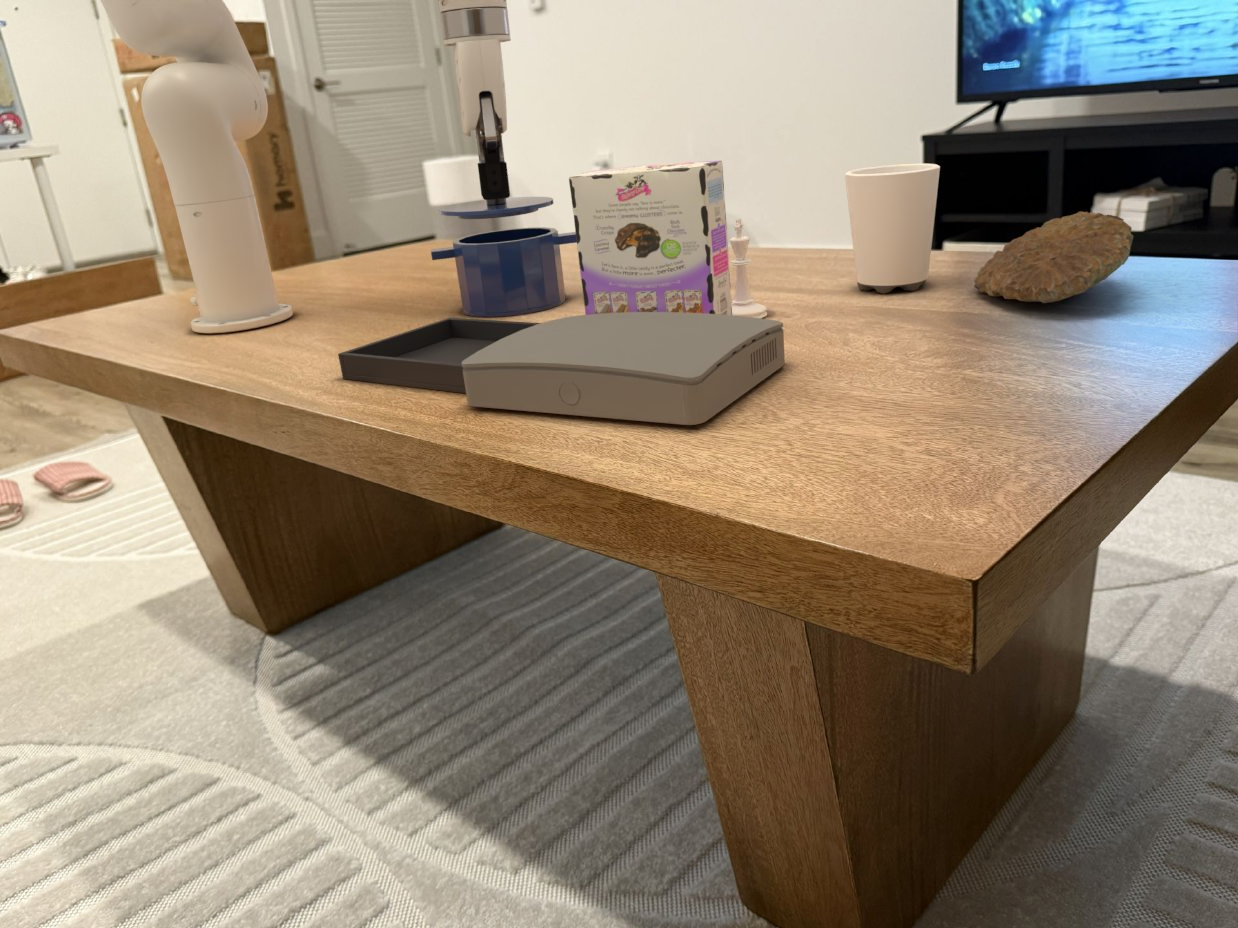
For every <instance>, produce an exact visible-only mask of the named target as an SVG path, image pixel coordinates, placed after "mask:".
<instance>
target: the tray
mask: <svg viewBox="0 0 1238 928" xmlns="http://www.w3.org/2000/svg"><path fill="white" fill-rule="evenodd" d="M541 323H542V322H530V321H529V322H528V321H527V322H526V321H511V320H495V319H494V320H493V319H478V318H477V319H476V318H460V317H448V318H444V319H441V320H438V321H435V322H431V323H428V324H425V325H421V326H419V327H417V328H414V329H413V328H412V329H409V330H407V331H404V332H401V333H398V334H395V335H392V336H389V337H386V338H385V337H384V338H383V339H379V340H376V341H372V342H370V343H367V344H364V345H361V346H357V347H355V348H352V349H349V350H345V351H343V352H339V353H338V354H337V355H338V360H339V361H338V362H339V365H340V366H339V367H340V371H341V376H342V379H343V380H350V381H358V382H368V383H375V384H383V385H391V386H392V385H393V386H400V387H410V388H418V389H424V390H425V389H426V390H435V391H441V392H442V391H443V392H451V393H460V394H466V389H465V383H464V376H463V368H462V361H463V360H465V359H466V358H468V357H470V356H471V355H473V354H474V353H476V352H478V351H479V350H481V349H483V348H485V347H487V346H489V345H491V344H493V343H494V342H496V341H498V340H500V339H502V338H504V337H507V336H509V335H511V334H514V333H516V332H518V331H520V330H523V329H526V328H529V327H531V326H534V325H537V324H541Z"/></svg>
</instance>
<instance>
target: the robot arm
mask: <svg viewBox="0 0 1238 928" xmlns="http://www.w3.org/2000/svg"><path fill="white" fill-rule="evenodd" d="M100 2H101V4H102V7H103V9H104V10H105V12H106V15H107V17H108V18H109V21H110V23H111V24H112V27H113V29H114V30H115V32H116V34H117V35H118V37H119V39H120V40H121V41H122V42H123V43H124V44H125V45H126V46H127V47H128V48H129V49H130V50H132V51H134V52H137V53H138V54H142V55H146V56H152V57H168V58H174V59H175V61H176V62H169V63H167V64H164V65H161V66H159V67H158V68H156V69H155V70H154V71H152V73H150V74H149V76H148V77H147V78H146V80H145V81H144V84H143V87H142V91H141V96H140V97H141V98H140V99H141V100H140V103H141V110H142V115H143V119H144V121H145V124H146V127H147V130H148V131H149V134H150V136H151V139H152V141H153V143H154V145H155V147H156V151H157V152H158V155H159V157H160V160H161V163H162V165H163V169H164V172H165V175H166V179H167V182H168V186H169V190H170V195H171V198H172V201H173V202H172V203H173V205H174V209H175V212H176V216H177V221H178V224H179V228H180V232H181V236H182V241H183V244H184V248H185V252H186V256H187V260H188V265H189V268H190V269H189V270H190V272H191V276H192V281H193V285H194V289H195V291H194V294H195V295H193V296H191V297H190V299H189V303H190V305H191V306H192V307H198V310H199V314H200V316H198V317H196V318H194V319H191V321H190V326H191V330H192V332H195V333H198V334H221V333H223V334H225V333H232V332H239V331H246V330H252V329H257V328H261V327H266V326H270V325H274V324H276V323H281V322H283V321H286V320H288V319H289V318H292V316H293V315H294V311H293V306H292V305H290V304H287V303H279V299H278V295H277V290H276V286H275V282H274V277H273V272H272V268H271V262H270V259H269V253H268V250H267V245H266V241H265V236H264V231H263V226H262V222H261V218H260V214H259V213H260V212H259V208H258V203H257V200H256V195H255V191H254V188H253V187H254V186H253V183H252V182H253V181H252V178H251V175H250V172H249V169H248V166H247V164H246V160H245V159H244V157H243V155H242V154H241V153H242V152H241V151H240V149H239V147H238V145H237V142H242V141H247V140H249V139H251V138H254V137H255V136H256V135H258V134H259V133H260V132H261V131H262V130H263V128H264V126H265V124H266V121H267V119H268V113H269V112H268V111H269V105H268V96H267V93H266V89H265V87H264V85H263V81H262V79H261V77H260V75H259V72H258V70H257V68H256V65H255V63H254V61H253V59H252V57H251V55H250V53H249V51H248V48H247V46H246V44H245V42H244V39H243V38H242V35H241V33H240V31H239V29H238V26H237V24H236V22H235V20H234V18H233V16H232V14H231V11H230V10H229V8H228V6H227V4H226V3H225V2H224V0H100ZM438 9H439V15H440V16H439V17H440V24H441V25H440V26H441V31H442V39H443V46H444V47H453V53H454V67H455V77H456V86H457V87H456V88H457V95H458V101H459V108H460V116H461V117H460V118H461V125H462V132H463V134H464V135H465V136H467V138H468V137H472V135H471V131H475V140H476V148H477V155H478V163H477V170H478V179H479V186H480V194H481V197H482V200H492V199H502V198H510V196H511V190H510V181H509V174H508V166H507V165H508V164H507V161H506V160H505V153H504V152H505V151H504V145H503V144H504V143H503V135H502V134H504V133H505V132H507V130H508V115H507V113H508V110H507V93H506V81H505V73H504V63H503V54H502V43H507V42H511V30H510V20H509V11H508V3H507V0H438Z"/></svg>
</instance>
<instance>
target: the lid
mask: <svg viewBox="0 0 1238 928" xmlns="http://www.w3.org/2000/svg"><path fill="white" fill-rule="evenodd" d="M554 203H555V200H554V198H552V197H550V196H549V197H548V196H516V197H515V196H513V197H508V198H502V199H492V200H484V199H481V200H473V201H472V200H471V201H465V202H459V203H455V204H449V205H445V206H443V207H440V208H439V210H438V211H439V214H440V215H442V216H446V217H456V218H457V219H461V220H487V219H497V218H498V219H499V218H508V217H515V216H522V215H527V214H532V213H535V212H537V211H539V209H542V208H546V207H550V206H552V205H554Z"/></svg>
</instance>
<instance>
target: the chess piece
mask: <svg viewBox="0 0 1238 928" xmlns="http://www.w3.org/2000/svg"><path fill="white" fill-rule="evenodd" d="M743 229H744V224H743V223H742V218H736V219H735V226H734V232H736V235H735V236H733V237H731V238H730V239H729V243H730V246H731V249H732V251H733V254H734V256H735V258H734V259H732V260H731V261H730V266H734V267H735V266H736V268H735V269H736V272H735V279H736V280H735V291H734V299H731V306H732V316H743V317H753V318H761V319H764V318H766V317H767V316H768V312H767V307H766V305H763V304H761V303H757V302H754V301H755V299H754V298H753V297H752V295H751V291H750V285H749V280H748V273H747V267H746V265H750V264H752V260H751V259H750V258H747V257H746V256H747V252H748V247H749V244H750V241H751V240H750V239H751V238H750V237H749V236H746V235H743ZM732 303H733V304H732Z"/></svg>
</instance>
